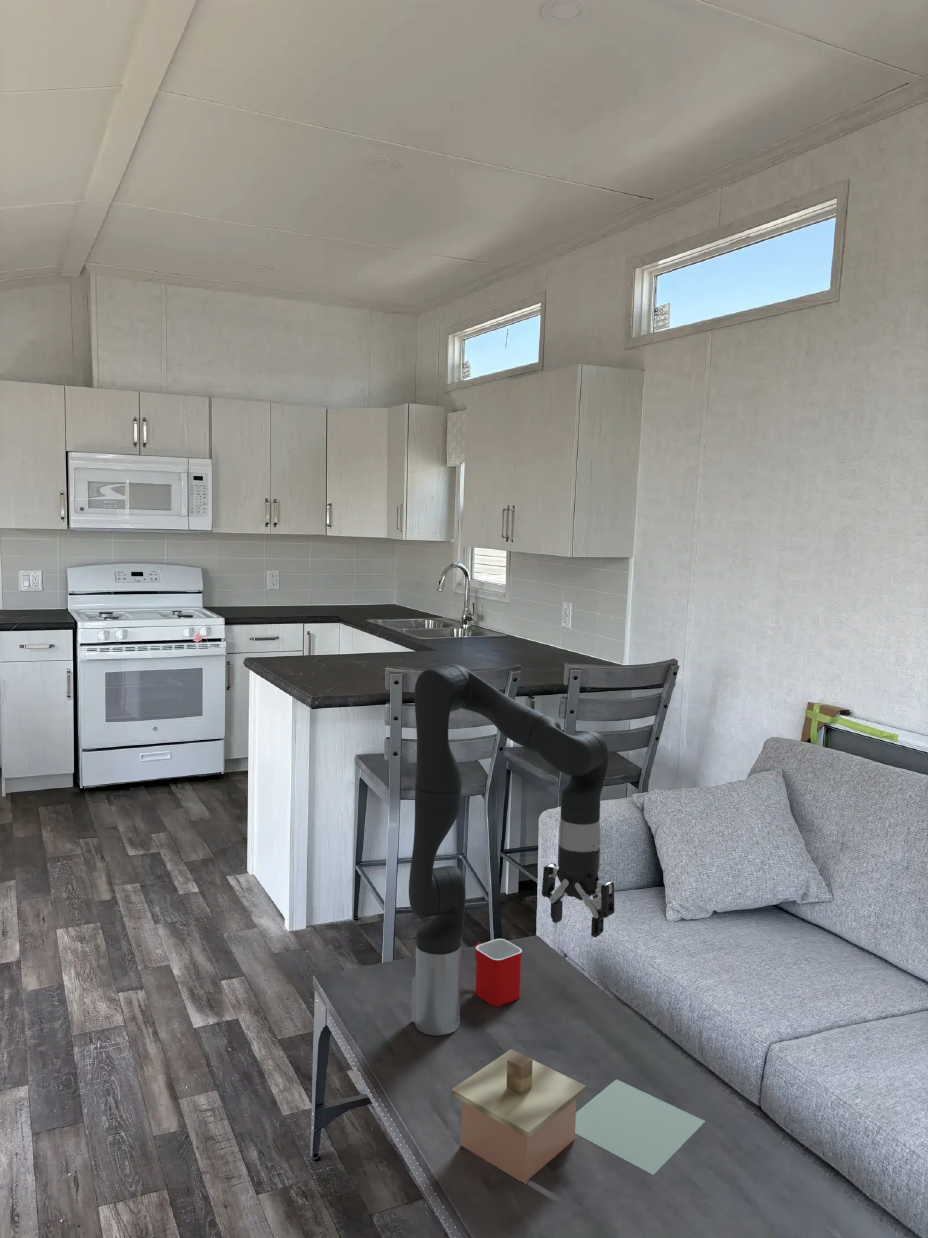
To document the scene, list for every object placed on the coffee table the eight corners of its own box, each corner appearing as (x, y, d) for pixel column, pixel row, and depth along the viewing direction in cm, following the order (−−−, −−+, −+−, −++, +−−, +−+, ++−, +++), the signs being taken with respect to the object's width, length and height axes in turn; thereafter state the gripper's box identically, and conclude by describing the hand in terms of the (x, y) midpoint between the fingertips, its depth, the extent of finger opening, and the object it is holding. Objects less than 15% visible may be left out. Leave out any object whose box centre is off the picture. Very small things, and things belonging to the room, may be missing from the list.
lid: (451, 1095, 155) (451, 1061, 155) (510, 1054, 167) (511, 1022, 167) (528, 1138, 145) (529, 1102, 144) (586, 1091, 157) (587, 1058, 156)
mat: (560, 1129, 161) (560, 1125, 161) (616, 1082, 175) (616, 1079, 174) (653, 1178, 149) (653, 1175, 149) (705, 1124, 163) (705, 1121, 163)
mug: (524, 997, 205) (525, 951, 203) (495, 1009, 200) (496, 961, 198) (489, 975, 214) (490, 931, 213) (461, 986, 209) (461, 940, 208)
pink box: (461, 1145, 156) (462, 1095, 155) (511, 1107, 167) (512, 1060, 166) (526, 1184, 147) (527, 1131, 146) (574, 1142, 158) (576, 1092, 157)
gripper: (535, 838, 171) (532, 923, 172) (601, 858, 161) (598, 948, 163) (558, 828, 176) (556, 911, 178) (624, 847, 167) (621, 934, 169)
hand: (576, 928), depth 171 cm, fingers open, 8 cm apart
